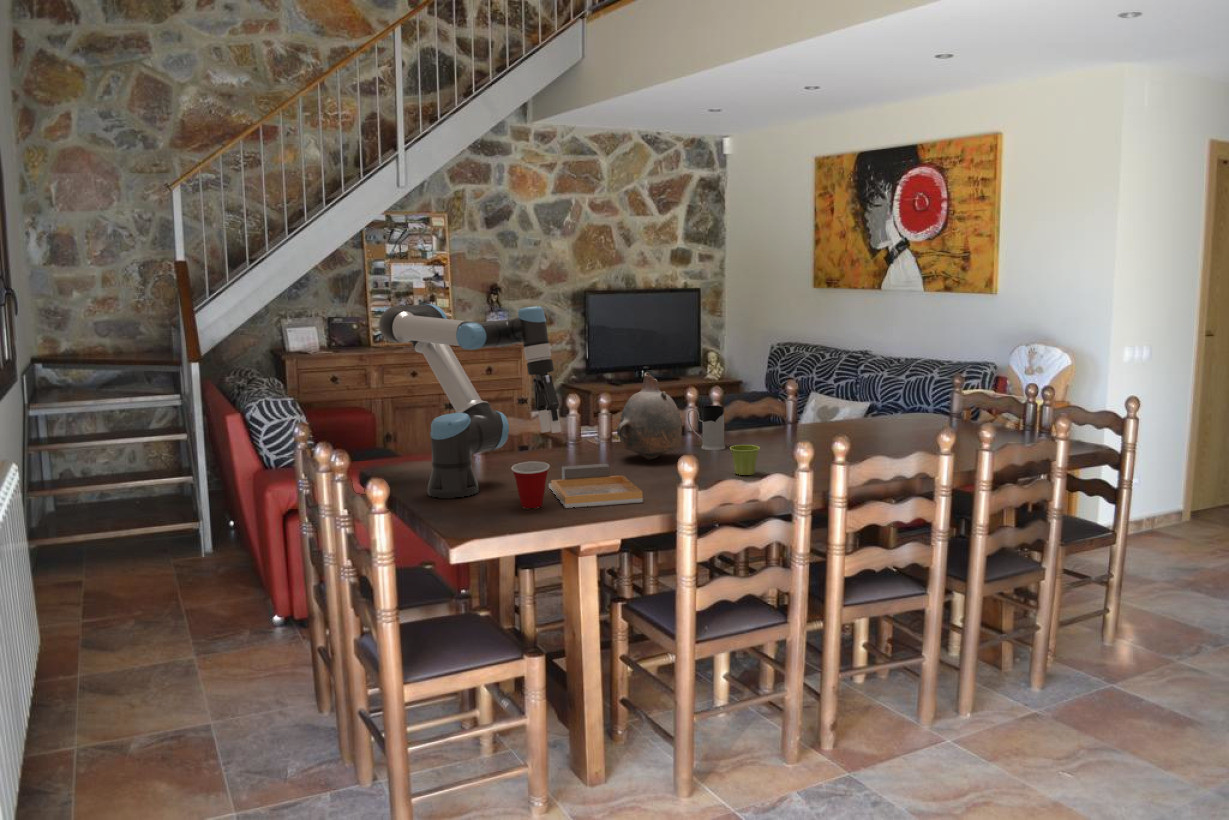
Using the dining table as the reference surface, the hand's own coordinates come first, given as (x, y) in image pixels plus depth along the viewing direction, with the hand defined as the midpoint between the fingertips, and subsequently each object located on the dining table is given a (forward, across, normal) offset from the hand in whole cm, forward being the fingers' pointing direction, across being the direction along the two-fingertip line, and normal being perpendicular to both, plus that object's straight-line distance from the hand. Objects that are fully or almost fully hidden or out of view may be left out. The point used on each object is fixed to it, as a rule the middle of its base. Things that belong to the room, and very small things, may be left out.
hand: (551, 432), depth 293 cm
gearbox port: (+20, +1, -10) cm, 23 cm away
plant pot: (+25, +11, -62) cm, 68 cm away
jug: (+18, +43, -43) cm, 64 cm away
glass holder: (+18, +57, -69) cm, 91 cm away
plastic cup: (+20, -7, +11) cm, 23 cm away
